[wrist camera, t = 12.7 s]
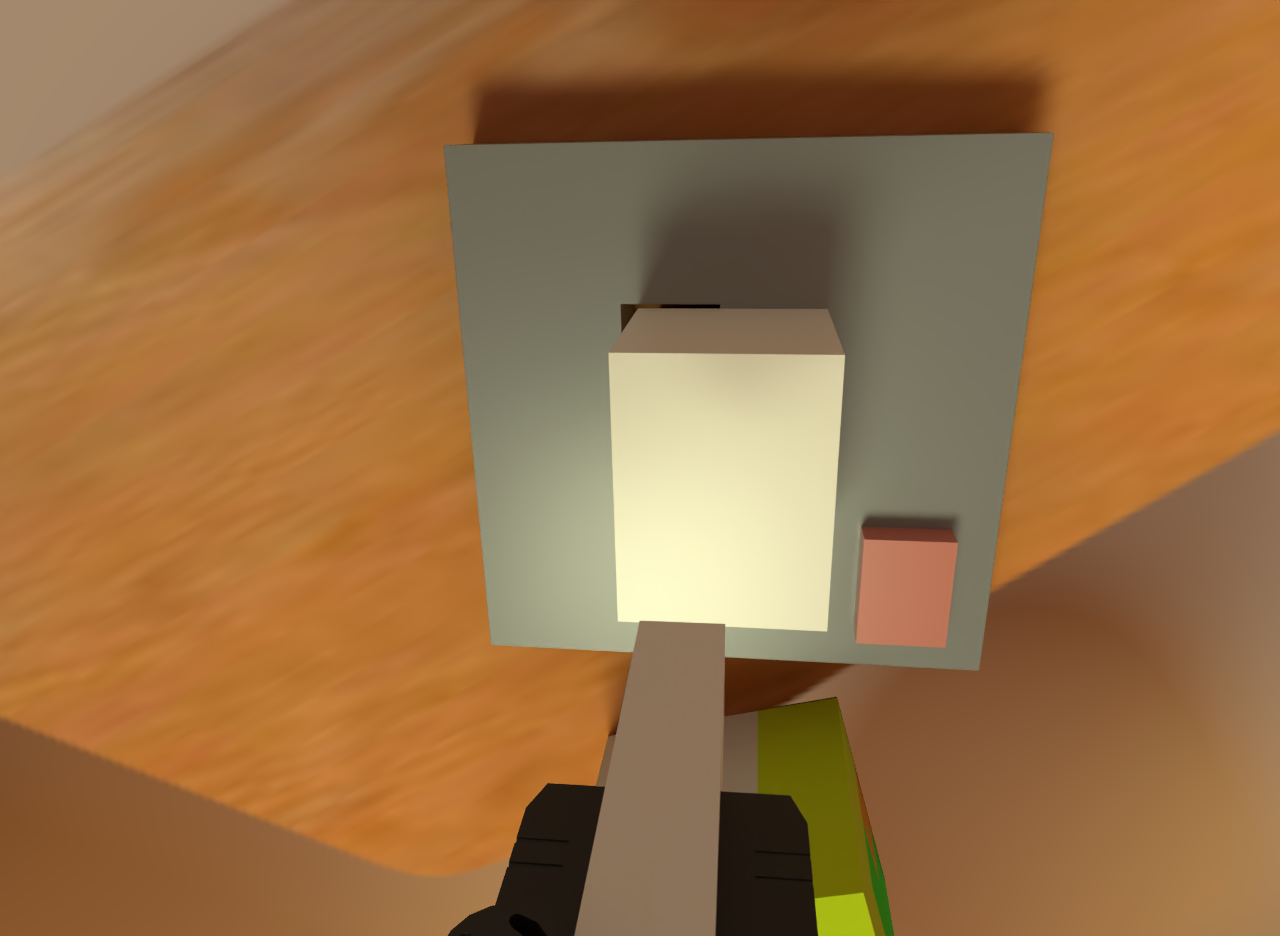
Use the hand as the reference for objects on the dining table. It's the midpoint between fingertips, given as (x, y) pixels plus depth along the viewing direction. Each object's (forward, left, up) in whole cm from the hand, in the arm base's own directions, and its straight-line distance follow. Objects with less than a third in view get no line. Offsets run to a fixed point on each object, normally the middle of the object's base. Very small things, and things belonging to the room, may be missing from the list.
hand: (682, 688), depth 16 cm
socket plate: (0, 0, -18) cm, 18 cm away
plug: (0, 0, -18) cm, 18 cm away
